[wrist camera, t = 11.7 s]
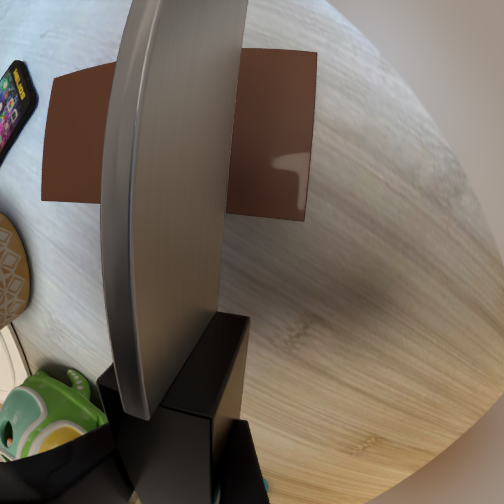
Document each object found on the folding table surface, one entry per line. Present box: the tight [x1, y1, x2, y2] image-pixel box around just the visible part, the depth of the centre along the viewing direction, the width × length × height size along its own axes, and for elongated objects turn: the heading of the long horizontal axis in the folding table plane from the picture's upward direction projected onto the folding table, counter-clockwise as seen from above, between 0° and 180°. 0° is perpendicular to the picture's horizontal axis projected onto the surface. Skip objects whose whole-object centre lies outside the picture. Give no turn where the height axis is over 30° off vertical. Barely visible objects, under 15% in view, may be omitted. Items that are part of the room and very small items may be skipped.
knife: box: [96, 0, 250, 504], centre depth 6 cm, size 16×2×4 cm, turn 174°
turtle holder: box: [0, 369, 108, 462], centre depth 18 cm, size 12×18×12 cm
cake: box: [41, 62, 116, 204], centre depth 15 cm, size 8×8×4 cm
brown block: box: [226, 48, 317, 222], centre depth 14 cm, size 4×8×4 cm, turn 175°
